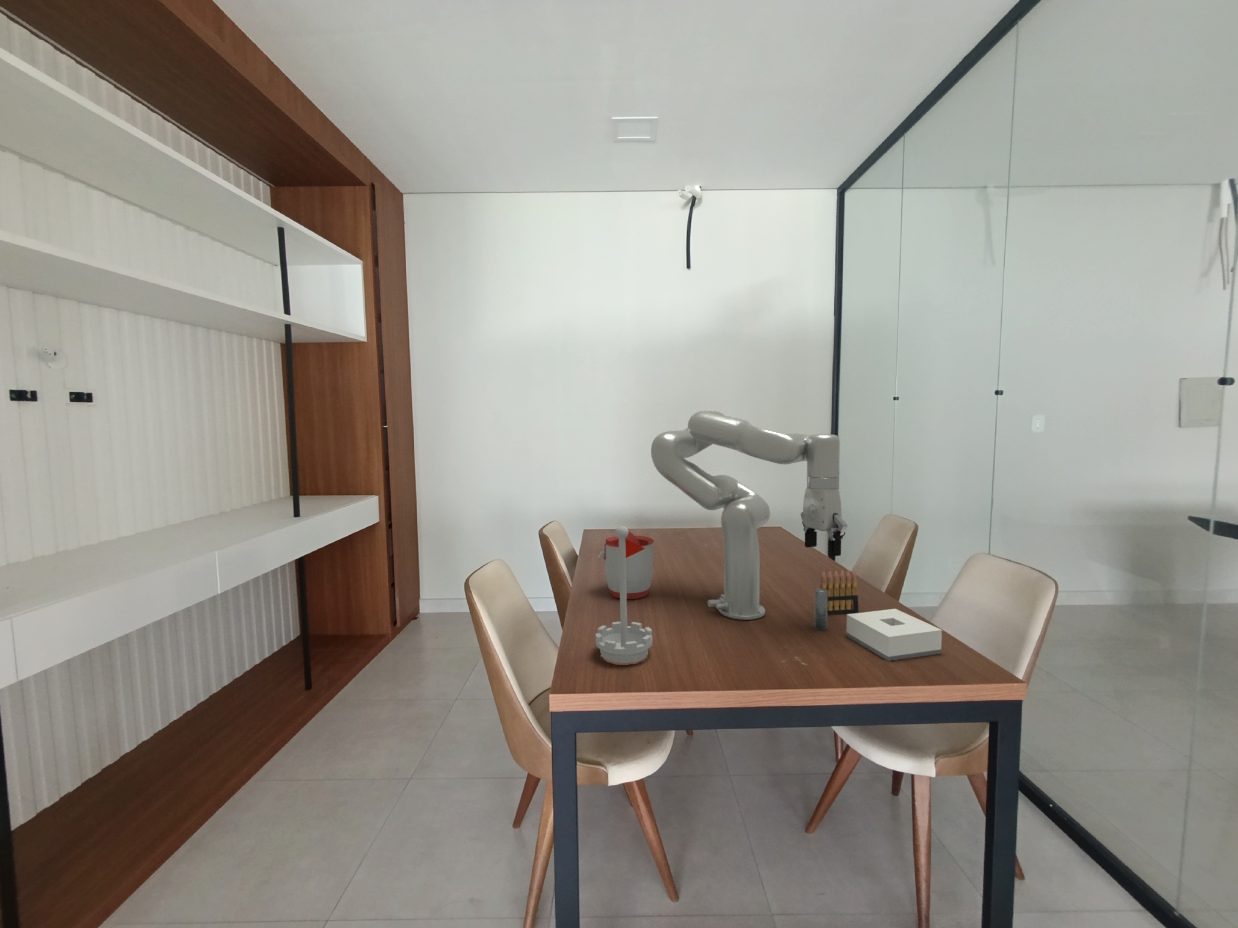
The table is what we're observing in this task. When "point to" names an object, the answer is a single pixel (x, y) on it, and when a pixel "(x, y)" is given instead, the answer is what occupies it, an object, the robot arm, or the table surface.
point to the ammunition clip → (841, 593)
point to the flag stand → (624, 618)
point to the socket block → (894, 634)
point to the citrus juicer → (629, 567)
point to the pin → (821, 609)
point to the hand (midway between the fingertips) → (822, 551)
